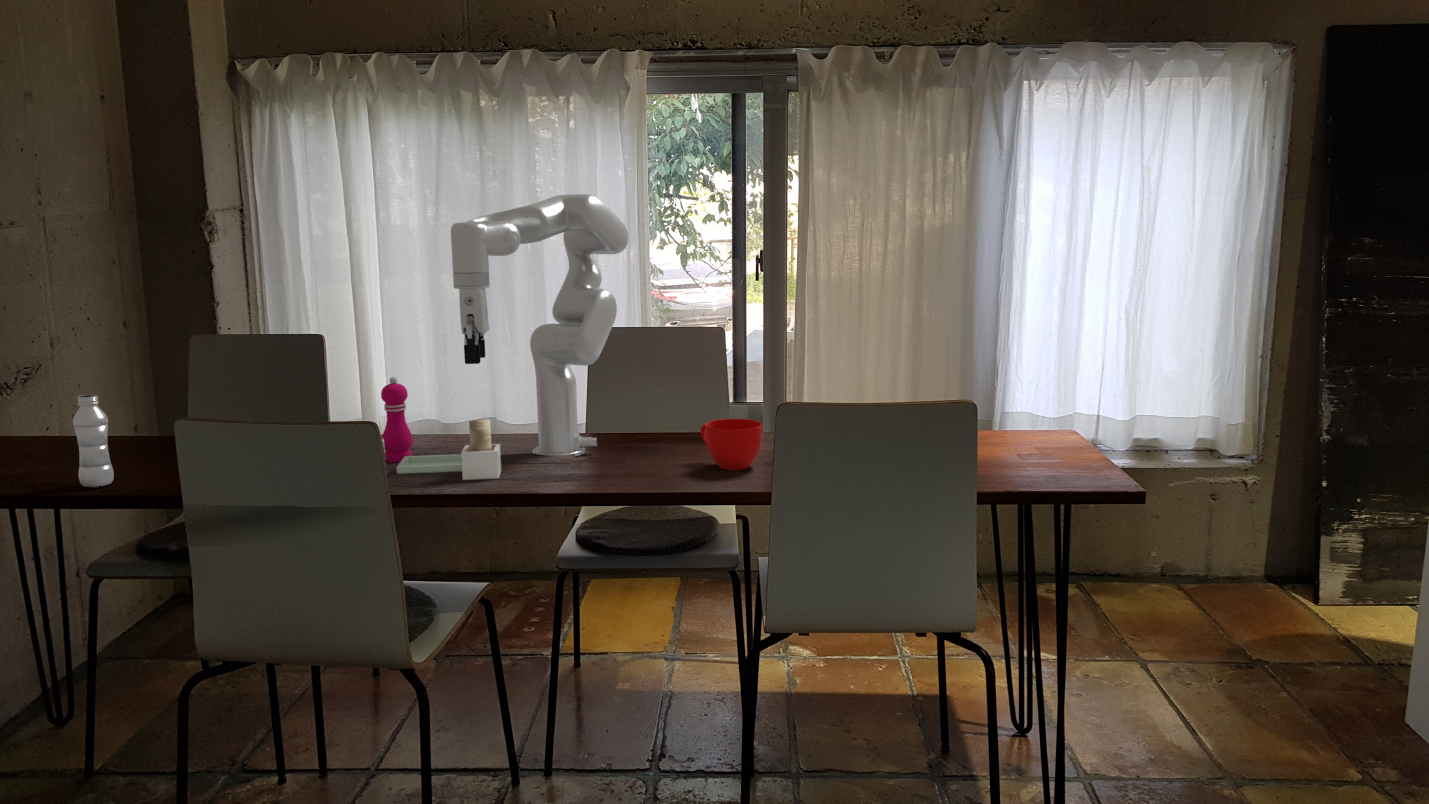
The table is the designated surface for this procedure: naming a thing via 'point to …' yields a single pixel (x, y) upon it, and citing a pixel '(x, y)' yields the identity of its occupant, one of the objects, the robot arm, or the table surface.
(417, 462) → the tray
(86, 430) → the plastic bottle
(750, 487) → the table surface
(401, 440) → the pepper mill
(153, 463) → the table surface
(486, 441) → the beige ringed cylinder
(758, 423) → the ceramic cup
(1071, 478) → the table surface
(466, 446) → the box
